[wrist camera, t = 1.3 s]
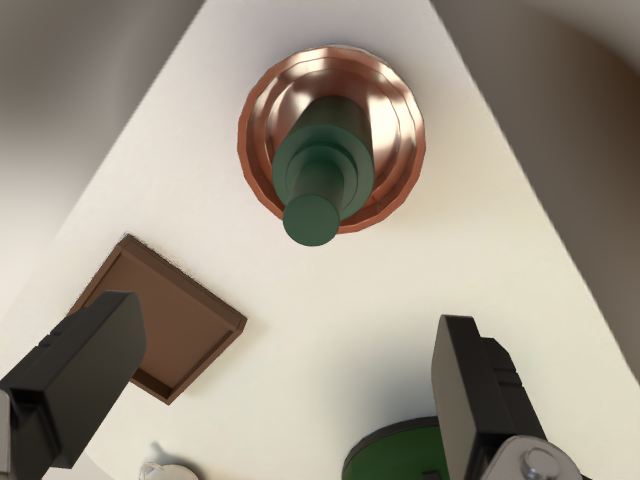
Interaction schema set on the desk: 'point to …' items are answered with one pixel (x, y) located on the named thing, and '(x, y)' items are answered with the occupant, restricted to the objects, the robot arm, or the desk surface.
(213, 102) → the desk surface
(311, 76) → the bowl
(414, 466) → the desk lamp
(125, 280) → the tray
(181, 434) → the desk surface
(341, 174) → the bottle
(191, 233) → the desk surface
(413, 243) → the desk surface
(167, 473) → the teacup
